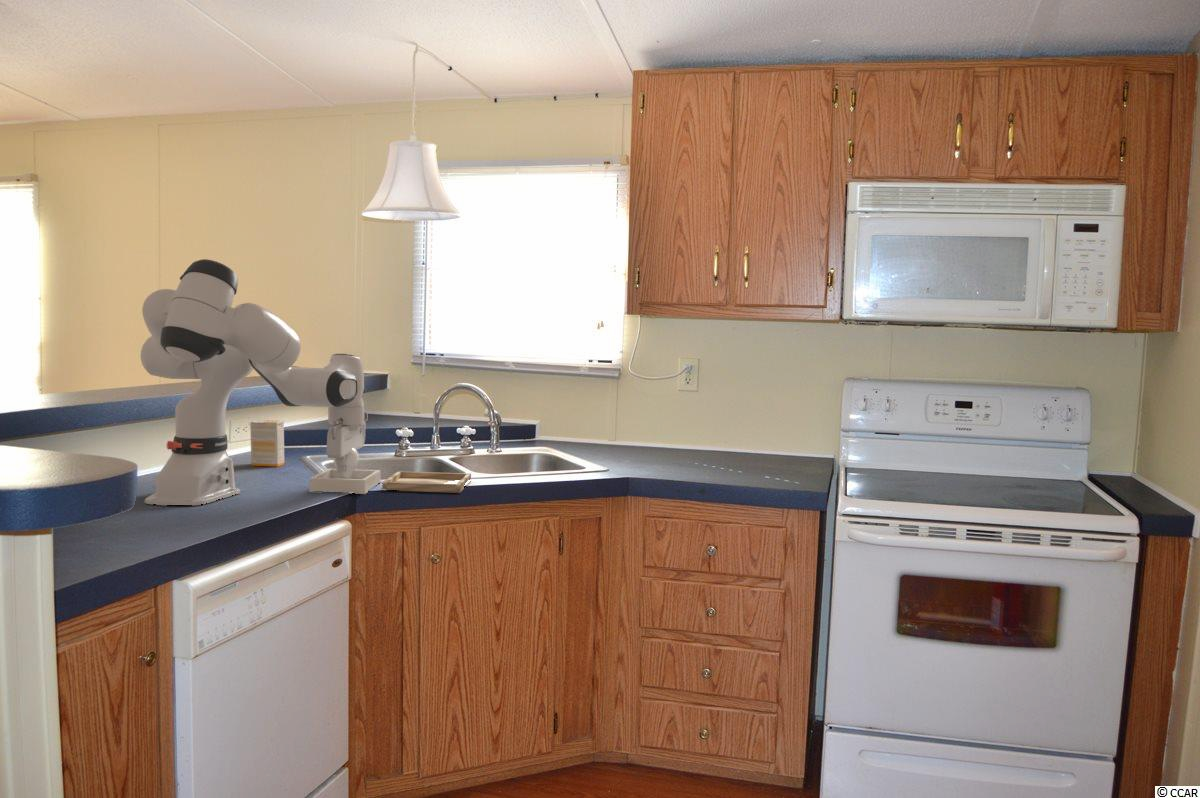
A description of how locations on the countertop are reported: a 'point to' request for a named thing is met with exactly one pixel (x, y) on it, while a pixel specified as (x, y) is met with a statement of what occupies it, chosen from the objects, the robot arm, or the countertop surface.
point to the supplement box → (267, 443)
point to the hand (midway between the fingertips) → (346, 469)
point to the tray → (426, 482)
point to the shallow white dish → (345, 481)
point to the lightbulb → (349, 464)
